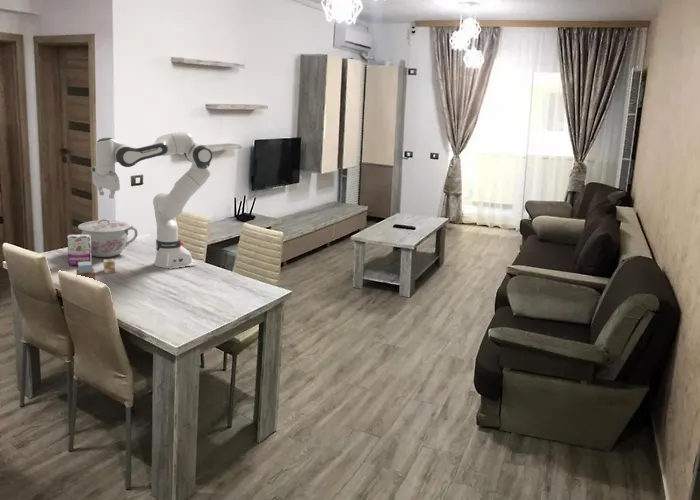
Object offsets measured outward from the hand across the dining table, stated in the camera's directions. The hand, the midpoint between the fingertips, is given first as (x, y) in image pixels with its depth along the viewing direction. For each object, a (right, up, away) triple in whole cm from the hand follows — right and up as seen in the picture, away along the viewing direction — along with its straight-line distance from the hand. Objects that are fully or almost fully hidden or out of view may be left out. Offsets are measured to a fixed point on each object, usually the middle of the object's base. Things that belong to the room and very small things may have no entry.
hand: (106, 196), depth 314 cm
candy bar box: (-19, -36, +13) cm, 43 cm away
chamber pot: (-15, -30, +35) cm, 48 cm away
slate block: (-8, -38, -7) cm, 40 cm away
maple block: (-1, -39, +6) cm, 39 cm away
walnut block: (-8, -42, -6) cm, 43 cm away
